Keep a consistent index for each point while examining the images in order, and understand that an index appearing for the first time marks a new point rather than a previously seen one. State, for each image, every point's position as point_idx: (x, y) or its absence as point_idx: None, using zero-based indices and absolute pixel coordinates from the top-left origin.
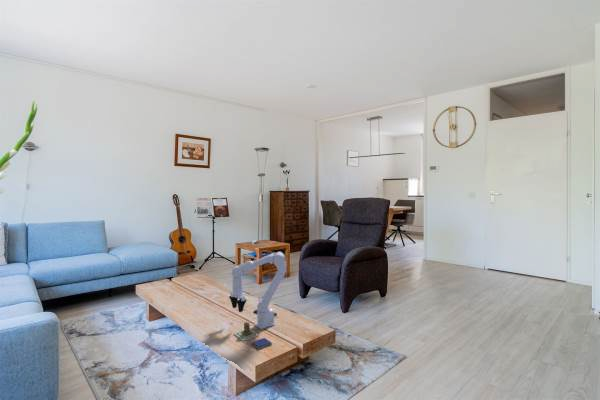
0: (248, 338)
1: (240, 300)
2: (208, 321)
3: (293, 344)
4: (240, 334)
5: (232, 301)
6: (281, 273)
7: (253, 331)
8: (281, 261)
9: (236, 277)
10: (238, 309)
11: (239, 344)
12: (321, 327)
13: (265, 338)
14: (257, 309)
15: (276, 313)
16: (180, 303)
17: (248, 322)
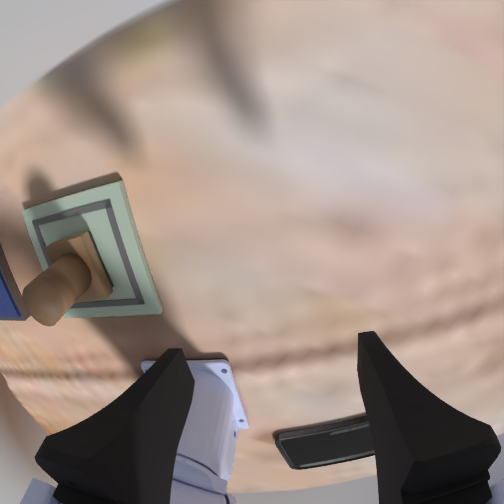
0: (35, 249)
1: (80, 492)
2: (489, 73)
3: (4, 370)
4: (88, 221)
5: (387, 409)
6: None
7: (109, 312)
8: None
9: None
10: (164, 367)
11: (4, 180)
12: None
13: (20, 320)
14: (185, 463)
15: (300, 469)
16: None
17: (50, 322)
